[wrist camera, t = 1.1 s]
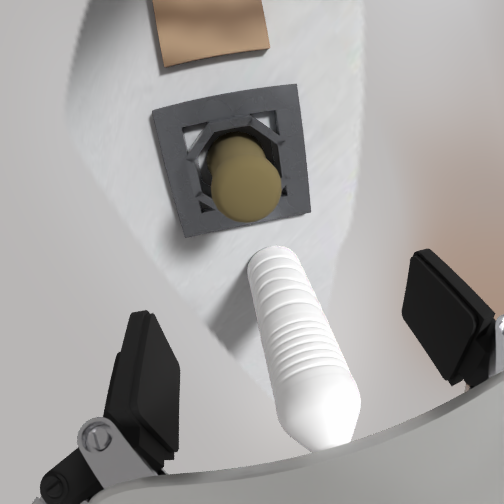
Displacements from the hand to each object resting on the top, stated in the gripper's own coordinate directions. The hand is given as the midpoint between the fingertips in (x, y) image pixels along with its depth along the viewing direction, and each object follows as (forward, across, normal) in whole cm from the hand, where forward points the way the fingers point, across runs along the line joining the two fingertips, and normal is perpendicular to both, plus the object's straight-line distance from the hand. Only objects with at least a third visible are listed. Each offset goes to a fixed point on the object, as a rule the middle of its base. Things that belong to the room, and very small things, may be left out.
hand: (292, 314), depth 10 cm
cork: (+23, 0, 0) cm, 23 cm away
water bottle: (+24, -2, +15) cm, 28 cm away
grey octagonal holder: (+23, 0, 0) cm, 23 cm away
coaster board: (+23, 0, -16) cm, 28 cm away
